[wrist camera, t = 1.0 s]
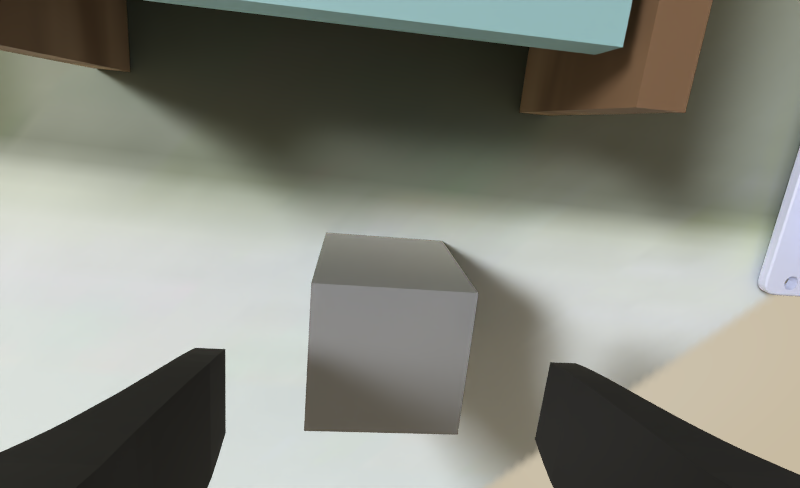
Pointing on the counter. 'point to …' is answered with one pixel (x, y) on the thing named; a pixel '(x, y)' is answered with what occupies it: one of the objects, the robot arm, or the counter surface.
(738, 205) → the counter surface
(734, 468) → the robot arm
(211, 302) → the counter surface
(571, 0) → the trapdoor flap
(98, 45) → the stand
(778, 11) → the counter surface
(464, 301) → the slate block
